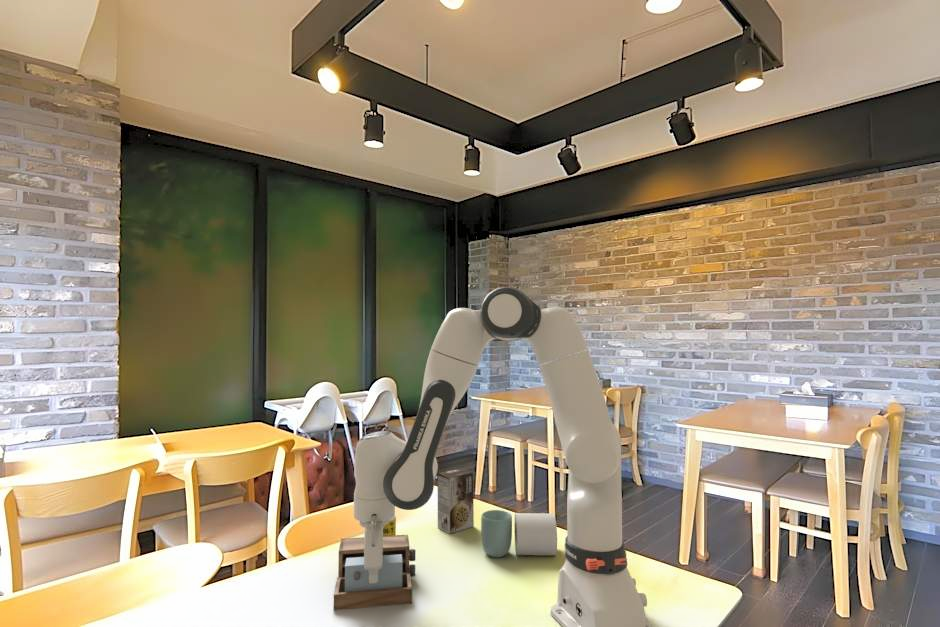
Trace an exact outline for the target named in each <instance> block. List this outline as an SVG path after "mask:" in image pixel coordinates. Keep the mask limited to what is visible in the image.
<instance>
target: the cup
mask: <svg viewBox="0 0 940 627" xmlns="http://www.w3.org/2000/svg"><path fill="white" fill-rule="evenodd" d="M512 516H513V515H512V514H511V513H510V512H508V511H506V510H501V509H490V510H486V511H484V512H483V513H482V514H481V518H480V522H481V523H480V524H481V526H480V529H481V530H480V532H481V533H480V534H481V545H482V549H483V550H484V553H485V554H486V555H488V556H489V557H491V558H492V557H493V558H501V557H502V558H503V557H505V556H506V555H508V554H509V552H510V549H511V547H512V540H513V517H512Z"/></svg>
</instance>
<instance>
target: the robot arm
mask: <svg viewBox="0 0 940 627" xmlns="http://www.w3.org/2000/svg"><path fill="white" fill-rule="evenodd" d="M582 333H583V332H581V329H580V327H579V325H578V323H577V322H576V320H575V318H574V316H573V315H572V313H571V312H570V311H569V310H568V309H567V308H565V307H560V306H551V307H546V308H542V309H541V307H540V306H539V305H538V304H537V303H536V302H534V301H533V300H532V299H531V298H530V297H529V296H528V295H527V294H525V293H524V292H523V291H521V290H520V289H518V288H515V287H512V286H499V287H497V288H494V289H493V290H492V291H490V292H489V293H488V294H487V295H486V296H485V297H484V298H483V301H482V302H481V306H480V309H472V308H467V307H458V308H453V309H451V310H450V311H448V313H447V314H446V316H445V317H444V320H443V321H442V322H441V325H440V327H439V329H438V331H437V333H436V335H435V338H434V340H433V343H432V345H431V348H430V350H429V354H428V357H427V361H426V364H425V370H424V372H423V373H424V375H423V381H422V387H421V388H422V389H421V396H420V402H419V406H418V411H417V414H416V416H415V420H414V422H413V425H412V427H411V430H410V432H409V436H408V438H407V440H403V439H402V438H400V437H398V436H396V435H395V434H394V433H393V432H391V431H388V430H379V431H373V432H370V433H367V434H364V436H362V437H361V438H360V439H359V440H358V441H357V443H356V447H355V452H354V453H355V455H354V464H353V465H354V469H353V470H354V471H353V474H354V475H353V476H354V480H355V488H354V492H353V518H354V519H355V520H357V521H358V522H359V525H360V527H362V528H364V536H363V537H364V568H365V570H369V582H370V583H377V582H378V569H381V568H382V564H383V527H384V526H386V525H387V524H388V523H389V519H390V518H392V517H393V516H394V515H395V514H396V507H397V508H398V509H401V510H406V511H412V510H417V509H419V508H422V507H423V506H424V505H426V504H427V503H428V501H429V500H430V499H431V497H432V495H433V492H434V487H435V481H436V477H437V476H438V470H439V464H438V460H437V457H436V454H437V452H438V449H439V446H440V443H441V440H442V437H443V434H444V431H445V428H446V425H447V424H448V421H449V419H450V416H451V415H452V413H453V411H454V410H455V408H456V407H457V406H458V404H459V402H460V401H461V399H462V398H463V397H464V395H465V394H466V393H467V391H468V389H469V387H470V385H471V383H472V381H473V379H474V377H475V375H476V372H477V370H478V366H479V364H480V361H481V358H482V355H483V352H484V350H485V349H486V347H487V345H488V344H489V343H490V342H493V341H494V342H515V341H516V342H517V341H519V340H522V339H523V340H524V341H526V342H528V344H529V346H530V347H531V349H532V350H533V353H534V356H535V359H536V361H537V365H538V368H539V371H540V374H541V376H542V380H543V383H544V386H545V389H546V392H547V396H548V398H549V402H550V404H551V408H552V410H551V411H552V414H553V418H554V423H555V427H556V431H557V433H558V434H557V435H558V438H559V442H560V445H561V449H562V452H563V453H562V454H563V456H564V459H565V463H566V465H567V467H568V477H567V478H568V480H567V481H568V482H567V483H568V484H567V497H566V498H567V500H566V510H567V511H566V513H567V514H566V515H567V517H566V519H567V520H566V522H567V523H566V524H567V525H566V526H567V527H566V529H567V530H566V531H567V534H566V535H567V536H566V537H565V543H564V556H565V558H566V559H565V561H564V563H563V565H562V567H560V570H559V571H558V578H557V579H558V580H557V581H558V582H557V599H556V603H555V604H553V605H552V606H551V608H550V615H551V616H552V618H553V619H555V621H557V623H558V624H560V626H562V627H652V625H651V623H650V622H649V619H648V618H647V617H646V616H647V615H646V611H645V608H646V607H647V605H648V600H647V594H645V593H643V592H638V589H637V582H636V578H634V577H632V575H631V573H630V571H629V569H628V558H627V552H626V548H625V544H624V542H623V514H622V513H623V503H622V502H623V501H622V500H623V499H622V498H623V497H622V496H623V495H622V494H623V493H622V492H623V491H622V490H623V489H622V438H621V434H620V431H619V430H618V428H617V426H616V425H615V424H614V423H613V421H612V420H613V419H612V418H611V415H610V411H609V408H608V405H607V402H606V398H605V395H604V392H603V389H602V385H601V382H600V379H599V377H598V374H597V371H596V368H595V366H594V363H593V359H592V357H591V356H592V355H591V354H590V353H591V352H590V351H589V347H588V345H587V343H586V341H585V338H584V336H583V334H582ZM395 516H396V515H395Z"/></svg>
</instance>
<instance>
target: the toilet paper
mask: <svg viewBox="0 0 940 627" xmlns="http://www.w3.org/2000/svg"><path fill="white" fill-rule="evenodd" d="M513 523H514V528H513V529H514V530H513V531H514V550H515V555H516V556H557V553H558V531H557V530H558V528H557V521H556V515H555V513H543V512H539V513H537V512H536V513H530V512H529V513H527V512H524V513H523V512H521V513H520V512H515V513H514V522H513Z"/></svg>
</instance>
